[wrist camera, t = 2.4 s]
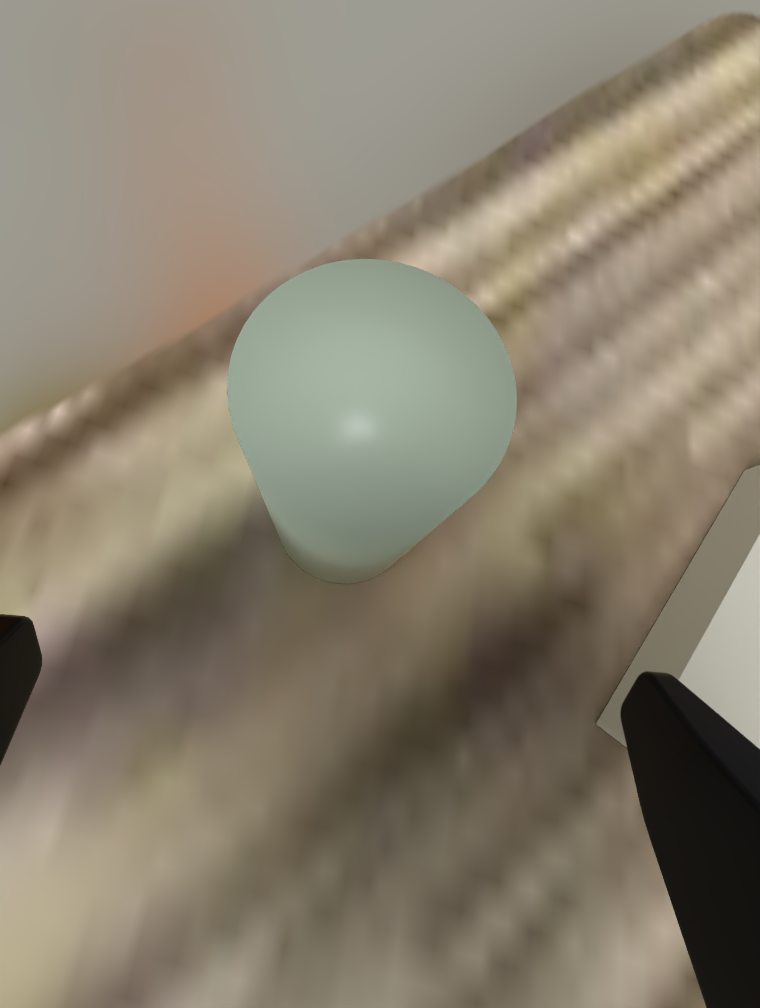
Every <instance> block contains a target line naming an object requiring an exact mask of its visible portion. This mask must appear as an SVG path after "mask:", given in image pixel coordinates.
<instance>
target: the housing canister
mask: <svg viewBox="0 0 760 1008" xmlns="http://www.w3.org/2000/svg"><path fill="white" fill-rule="evenodd" d="M227 395H228V404H229V412H230V416H231V420H232V423H233V427H234V430H235V433H236V435H237V438H238V440H239V442H240V445H241V447H242V450H243V452H244V454H245V457H246V459H247V462H248V464H249V466H250V469H251V471H252V474H253V476H254V478H255V481H256V483H257V485H258V488H259V490H260V493H261V495H262V497H263V500H264V502H265V504H266V507H267V509H268V512H269V514H270V516H271V519H272V521H273V524H274V526H275V528H276V531H277V533H278V535H279V538H280V540H281V543H282V545H283V547H284V549H285V550H286V552H287V554H288V555H289V556H290V558H291V559H292V560H293V561H294V562H295V563H296V564H297V565H298V566H299V567H300V568H301V569H303V570H304V571H305V572H307V573H308V574H310V575H312V576H314V577H316V578H318V579H321V580H323V581H327V582H331V583H338V584H352V583H358V582H362V581H366V580H369V579H371V578H374V577H376V576H378V575H379V574H381V573H383V572H384V571H386V570H387V569H388V568H389V567H391V566H392V565H393V564H394V563H395V562H396V561H398V560H399V559H400V558H401V557H402V556H403V555H405V554H406V553H407V552H408V551H409V550H410V549H412V548H413V547H414V546H415V545H416V544H417V543H419V542H420V541H421V540H422V539H423V538H424V537H426V536H427V535H428V534H429V533H430V532H431V531H433V530H434V529H435V528H436V527H437V526H438V525H440V524H441V523H442V522H443V521H444V520H445V519H447V518H448V517H449V516H450V515H451V514H452V513H454V512H455V511H456V510H457V509H458V508H459V507H461V506H462V505H463V504H464V503H465V502H466V501H468V500H469V499H470V498H471V497H472V496H473V495H475V494H476V493H477V492H478V491H479V490H480V489H481V488H482V487H483V485H484V484H485V483H486V482H487V481H488V480H489V479H490V477H491V476H492V475H493V473H494V472H495V470H496V469H497V467H498V466H499V465H500V463H501V461H502V459H503V457H504V455H505V453H506V451H507V449H508V446H509V443H510V440H511V437H512V434H513V430H514V424H515V419H516V408H517V393H516V382H515V377H514V372H513V368H512V364H511V361H510V358H509V356H508V353H507V350H506V348H505V346H504V344H503V342H502V340H501V338H500V336H499V334H498V332H497V331H496V329H495V328H494V326H493V325H492V324H491V322H490V321H489V319H488V318H487V317H486V316H485V314H484V313H483V312H482V311H481V310H480V309H479V308H478V306H477V305H476V304H475V303H473V302H472V301H471V300H470V299H469V298H468V297H467V296H466V295H465V294H463V293H462V292H461V291H459V290H458V289H456V288H455V287H454V286H452V285H451V284H449V283H448V282H446V281H444V280H442V279H441V278H439V277H437V276H435V275H433V274H431V273H428V272H426V271H424V270H421V269H419V268H416V267H413V266H409V265H406V264H402V263H398V262H392V261H386V260H375V259H356V260H344V261H339V262H333V263H328V264H325V265H322V266H319V267H316V268H312V269H310V270H308V271H306V272H303V273H301V274H299V275H297V276H295V277H293V278H292V279H290V280H288V281H287V282H285V283H284V284H282V285H280V286H279V287H278V288H277V289H276V290H274V291H273V292H272V293H271V294H269V295H268V296H267V297H266V298H265V299H264V300H263V301H262V302H261V304H260V305H259V306H258V307H257V308H256V309H255V310H254V312H253V313H252V314H251V316H250V317H249V319H248V320H247V322H246V323H245V325H244V327H243V329H242V331H241V333H240V334H239V336H238V338H237V341H236V344H235V347H234V350H233V353H232V356H231V360H230V366H229V371H228V385H227Z"/></svg>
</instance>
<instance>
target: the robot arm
mask: <svg viewBox="0 0 760 1008" xmlns="http://www.w3.org/2000/svg"><path fill="white" fill-rule="evenodd" d="M41 667H42V654H41V650H40V647H39V643H38V639H37V636H36V632H35V628H34V625H33V622H32V621H31V620H30V619H29V618H28V617H25V616H16V615H5V614H0V765H1V763H2V761H3V759H4V756H5V754H6V752H7V749H8V747H9V745H10V742H11V740H12V737H13V735H14V733H15V730H16V728H17V726H18V723H19V721H20V719H21V716H22V714H23V712H24V709H25V707H26V704H27V702H28V700H29V697H30V695H31V693H32V690H33V688H34V686H35V683H36V681H37V679H38V676H39V674H40V671H41ZM620 715H621V723H622V727H623V732H624V736H625V740H626V745H627V749H628V754H629V758H630V762H631V767H632V771H633V775H634V780H635V784H636V788H637V793H638V797H639V801H640V805H641V809H642V813H643V817H644V821H645V824H646V827H647V830H648V833H649V837H650V840H651V843H652V846H653V849H654V852H655V855H656V858H657V861H658V864H659V867H660V870H661V873H662V876H663V879H664V882H665V885H666V888H667V891H668V894H669V897H670V900H671V903H672V906H673V909H674V912H675V915H676V918H677V921H678V924H679V927H680V930H681V933H682V936H683V939H684V942H685V945H686V948H687V951H688V954H689V957H690V960H691V963H692V966H693V969H694V972H695V975H696V978H697V981H698V984H699V987H700V990H701V993H702V996H703V999H704V1002H705V1005H706V1008H760V749H759V748H758V747H757V746H756V745H754V744H753V743H752V742H751V741H750V740H749V739H747V738H746V737H745V736H744V735H743V734H742V733H740V732H739V731H738V730H737V729H736V728H734V727H733V726H732V725H731V724H730V723H729V722H727V721H726V720H725V719H724V718H723V717H721V716H720V715H719V714H718V713H717V712H716V711H714V710H713V709H712V708H711V707H710V706H708V705H707V704H706V703H705V702H704V701H703V700H701V699H700V698H699V697H698V696H697V695H696V694H694V693H693V692H692V691H691V690H690V689H688V688H687V687H686V686H685V685H684V684H683V683H681V682H680V681H679V680H678V679H677V678H675V677H674V676H673V675H671V674H668V673H663V672H651V671H644V672H642V673H641V674H639V676H638V677H637V679H636V680H635V682H634V684H633V686H632V687H631V689H630V691H629V693H628V694H627V696H626V698H625V699H624V701H623V703H622V706H621V712H620Z"/></svg>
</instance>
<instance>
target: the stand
mask: <svg viewBox="0 0 760 1008" xmlns="http://www.w3.org/2000/svg"><path fill="white" fill-rule="evenodd" d="M644 671H651V672H663V673H668V674H671V675H673V676H674V677H675V678H677V679H678V680H679V681H680V682H681V683H683V684H684V685H685V686H686V687H687V688H688V689H690V690H691V691H692V692H693V693H694V694H696V695H697V696H698V697H699V698H700V699H701V700H703V701H704V702H705V703H706V704H707V705H708V706H710V707H711V708H712V709H713V710H714V711H716V712H717V713H718V714H719V715H720V716H721V717H723V718H724V719H725V720H726V721H727V722H729V723H730V724H731V725H732V726H733V727H734V728H736V729H737V730H738V731H739V732H740V733H742V734H743V735H744V736H745V737H746V738H747V739H749V740H750V741H751V742H752V743H753V744H754V745H756V746H757V747H758V748H759V749H760V465H758V466H755V467H752V468H750V469H747V470H744V472H743V474H742V475H741V477H740V479H739V481H738V482H737V484H736V486H735V487H734V489H733V491H732V492H731V494H730V496H729V498H728V499H727V501H726V503H725V504H724V506H723V508H722V509H721V511H720V513H719V515H718V516H717V518H716V520H715V521H714V523H713V525H712V527H711V528H710V530H709V532H708V533H707V535H706V537H705V538H704V540H703V542H702V544H701V545H700V547H699V549H698V550H697V552H696V554H695V556H694V557H693V559H692V561H691V562H690V564H689V566H688V567H687V569H686V571H685V573H684V574H683V576H682V578H681V579H680V581H679V583H678V585H677V586H676V588H675V590H674V591H673V593H672V595H671V596H670V598H669V600H668V602H667V603H666V605H665V607H664V608H663V610H662V612H661V614H660V615H659V617H658V619H657V620H656V622H655V624H654V625H653V627H652V629H651V631H650V632H649V634H648V636H647V637H646V639H645V641H644V643H643V644H642V646H641V648H640V649H639V651H638V653H637V654H636V656H635V658H634V660H633V661H632V663H631V665H630V666H629V668H628V670H627V671H626V673H625V675H624V677H623V678H622V680H621V682H620V683H619V685H618V687H617V689H616V690H615V692H614V694H613V695H612V697H611V699H610V700H609V702H608V704H607V706H606V707H605V709H604V711H603V712H602V714H601V716H600V718H599V719H598V721H597V723H596V724H597V725H598V726H599V727H600V728H602V729H603V730H604V731H606V732H607V733H608V734H609V735H611V736H612V737H613V738H615V739H616V740H617V741H619V742H620V743H621V744H622V745H624V746H625V747H626V748H627V745H626V740H625V736H624V732H623V727H622V723H621V715H620V712H621V706H622V703H623V701H624V699H625V698H626V696H627V694H628V693H629V691H630V689H631V687H632V686H633V684H634V682H635V680H636V679H637V677H638V676H639V674H641V673H642V672H644Z"/></svg>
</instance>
